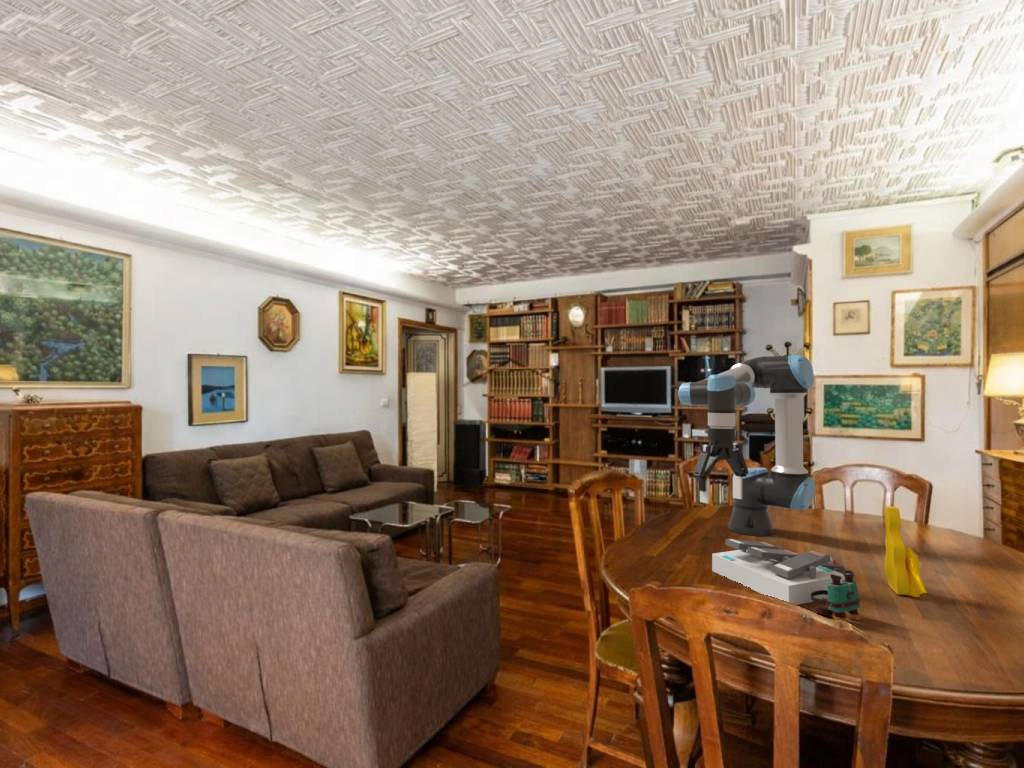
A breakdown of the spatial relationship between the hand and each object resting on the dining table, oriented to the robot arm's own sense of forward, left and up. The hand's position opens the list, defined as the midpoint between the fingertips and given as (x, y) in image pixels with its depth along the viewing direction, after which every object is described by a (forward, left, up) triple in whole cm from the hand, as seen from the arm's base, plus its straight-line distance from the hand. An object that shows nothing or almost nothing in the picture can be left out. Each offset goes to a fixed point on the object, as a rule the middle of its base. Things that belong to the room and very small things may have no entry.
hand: (721, 500), depth 149 cm
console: (-8, +12, -20) cm, 25 cm away
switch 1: (-8, +4, -13) cm, 15 cm away
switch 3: (-8, +20, -13) cm, 25 cm away
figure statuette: (-33, +29, -21) cm, 48 cm away
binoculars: (-4, +32, -21) cm, 38 cm away
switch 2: (-8, +12, -13) cm, 19 cm away
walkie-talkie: (-28, +11, -21) cm, 36 cm away
